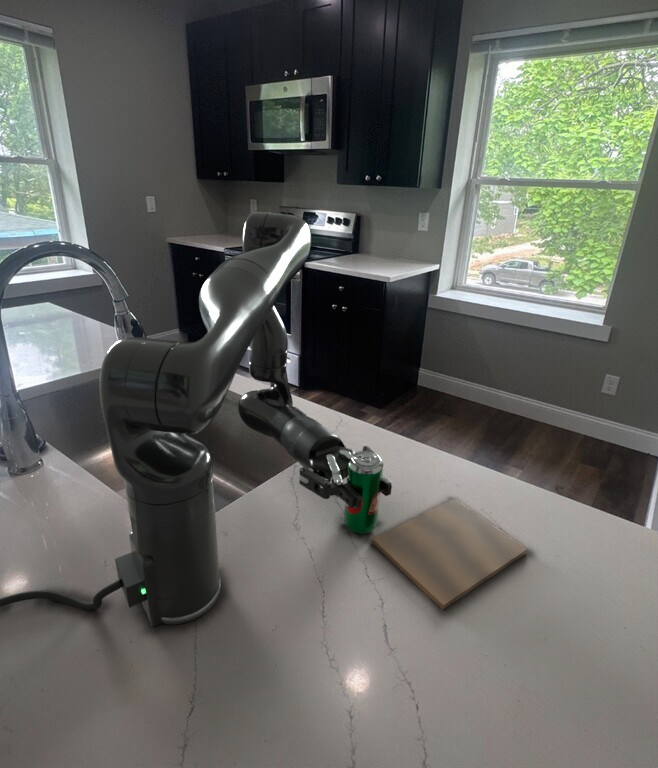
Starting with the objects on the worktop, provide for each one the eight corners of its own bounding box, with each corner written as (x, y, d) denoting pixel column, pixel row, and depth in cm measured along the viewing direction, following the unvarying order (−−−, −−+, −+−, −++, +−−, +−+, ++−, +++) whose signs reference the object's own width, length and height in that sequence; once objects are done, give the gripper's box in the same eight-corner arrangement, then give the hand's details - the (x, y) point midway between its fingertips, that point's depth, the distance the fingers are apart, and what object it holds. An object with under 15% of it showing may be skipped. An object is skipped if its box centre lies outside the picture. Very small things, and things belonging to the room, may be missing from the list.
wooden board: (442, 610, 58) (443, 605, 58) (371, 542, 69) (371, 538, 68) (526, 553, 68) (527, 549, 68) (453, 501, 79) (454, 498, 78)
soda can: (374, 538, 69) (381, 471, 65) (340, 532, 70) (345, 465, 65) (378, 516, 74) (385, 452, 69) (346, 511, 75) (351, 447, 70)
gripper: (274, 435, 74) (336, 491, 62) (345, 414, 82) (413, 460, 70) (274, 475, 77) (333, 535, 65) (343, 451, 85) (408, 501, 73)
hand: (374, 496), depth 67 cm, fingers closed on soda can, 5 cm apart
